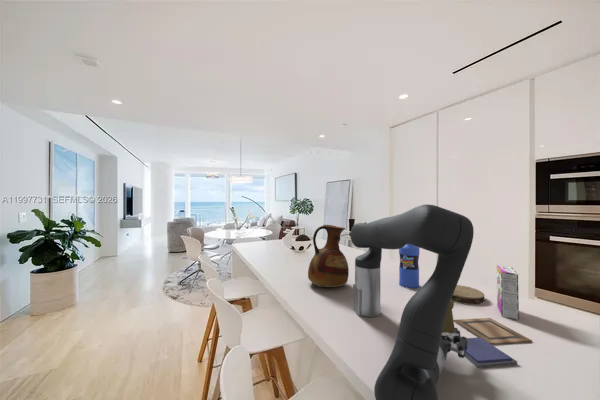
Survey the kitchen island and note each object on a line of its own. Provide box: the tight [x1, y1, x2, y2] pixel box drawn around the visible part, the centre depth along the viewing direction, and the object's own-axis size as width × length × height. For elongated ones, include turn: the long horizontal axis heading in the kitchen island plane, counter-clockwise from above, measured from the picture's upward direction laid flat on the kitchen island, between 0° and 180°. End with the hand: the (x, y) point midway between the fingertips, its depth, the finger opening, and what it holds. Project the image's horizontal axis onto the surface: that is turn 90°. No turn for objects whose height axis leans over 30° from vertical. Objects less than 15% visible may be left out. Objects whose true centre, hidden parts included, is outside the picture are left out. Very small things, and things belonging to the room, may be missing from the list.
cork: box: [442, 299, 456, 334], centre depth 77 cm, size 6×6×11 cm
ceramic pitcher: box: [307, 223, 350, 288], centre depth 121 cm, size 20×20×30 cm
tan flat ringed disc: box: [451, 284, 485, 305], centre depth 106 cm, size 16×16×3 cm
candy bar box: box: [496, 265, 520, 321], centre depth 91 cm, size 11×5×16 cm, turn 148°
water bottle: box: [398, 243, 420, 290], centre depth 120 cm, size 9×9×25 cm
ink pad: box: [452, 337, 518, 368], centre depth 66 cm, size 11×11×1 cm
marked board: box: [453, 317, 533, 346], centre depth 78 cm, size 14×14×1 cm
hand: (438, 326), depth 69 cm, fingers open, 8 cm apart
